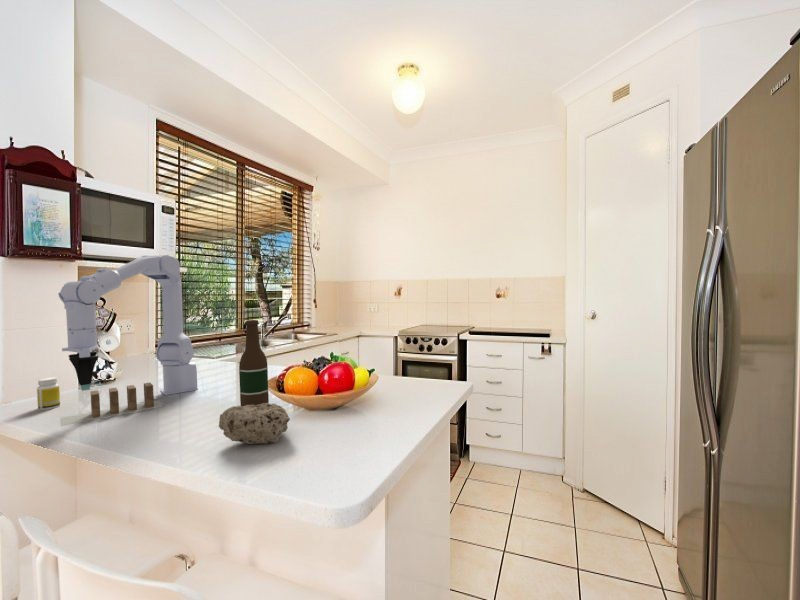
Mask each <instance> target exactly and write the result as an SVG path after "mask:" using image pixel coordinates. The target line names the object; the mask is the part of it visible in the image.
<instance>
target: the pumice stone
mask: <svg viewBox="0 0 800 600" xmlns="http://www.w3.org/2000/svg"><path fill="white" fill-rule="evenodd" d="M290 420H291V418H290V417H289V414H288V413H287V411H286V409H285V408H284V407H282V406H281V405H279V404H276V403H263V404H258V405H246V406H241V405H236V406H231V407H228V408H227V409H224V411H223V412H222V413H221V414H220V415H219V421H218V428H219V429H220V430H221V431H223V432H222V433H223V435H224V436H225V438H228V439H229V440H231V441H232V442H240V443H245V444H247V445H253V444H256V445H259V444H260V445H261V444H268V443H269V442H270V443H277V442H278V441H279V440H280V437H281V436H282V434H283V433H285V432H287V429H288V423H289V421H290Z"/></svg>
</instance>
